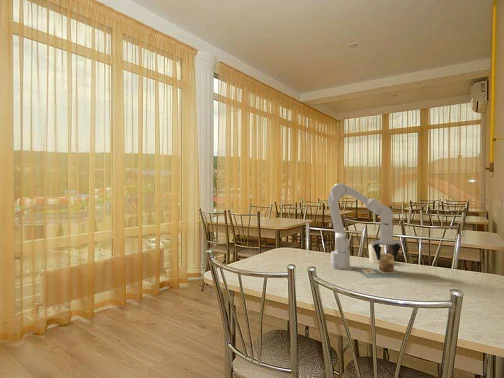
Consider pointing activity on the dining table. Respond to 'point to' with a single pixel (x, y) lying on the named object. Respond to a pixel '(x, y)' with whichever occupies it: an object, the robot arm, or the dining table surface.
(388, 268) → the walnut block
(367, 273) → the build board
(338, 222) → the robot arm
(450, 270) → the dining table surface
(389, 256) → the oak block
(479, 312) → the dining table surface
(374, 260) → the white cup
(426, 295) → the dining table surface
